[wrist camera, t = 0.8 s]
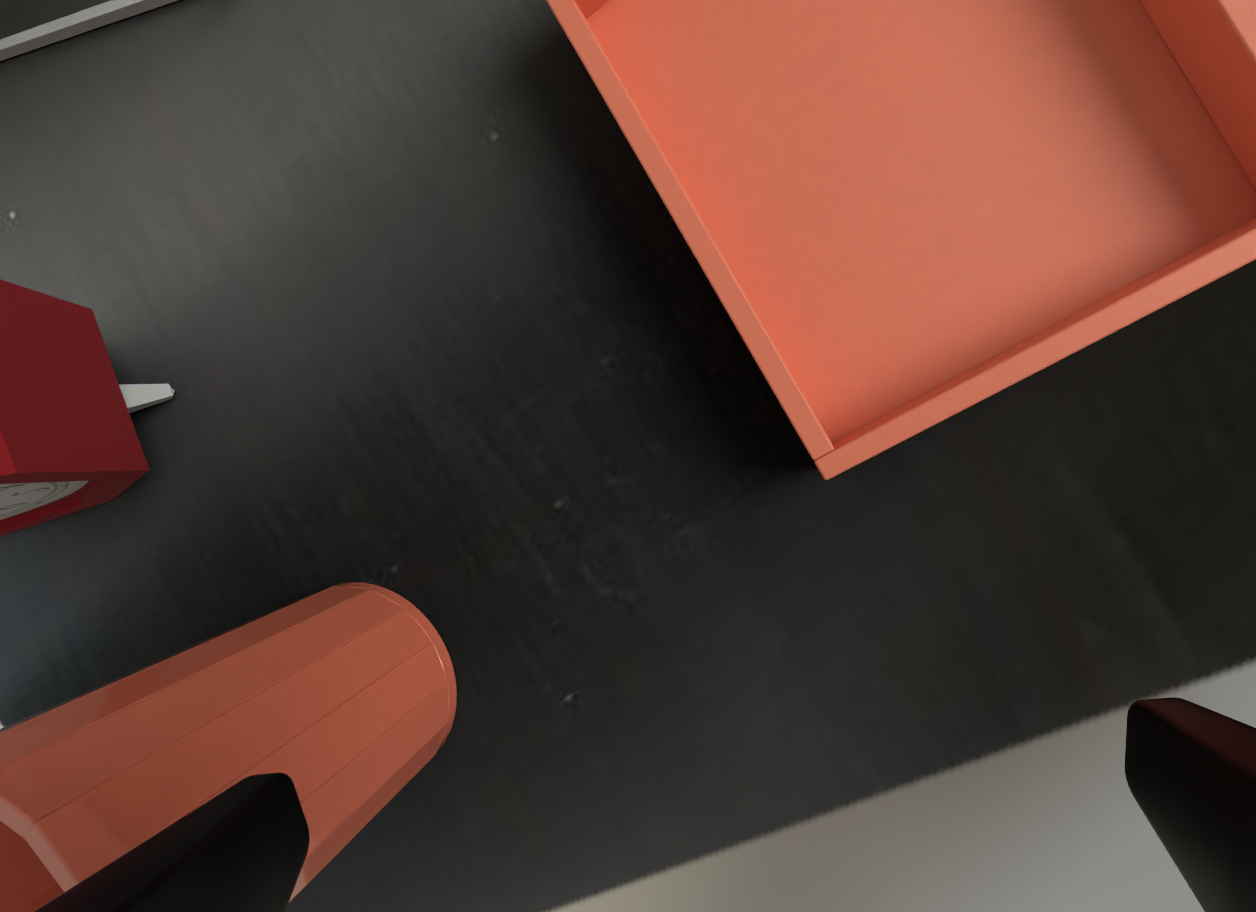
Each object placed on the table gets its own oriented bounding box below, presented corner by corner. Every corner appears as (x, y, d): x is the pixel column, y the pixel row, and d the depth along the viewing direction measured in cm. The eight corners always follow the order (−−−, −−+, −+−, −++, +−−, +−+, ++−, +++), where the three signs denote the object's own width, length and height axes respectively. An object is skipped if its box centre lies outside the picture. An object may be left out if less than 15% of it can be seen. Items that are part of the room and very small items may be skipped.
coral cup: (485, 642, 23) (155, 913, 11) (419, 809, 24) (70, 1197, 13) (316, 546, 24) (-130, 701, 13) (264, 711, 26) (-174, 979, 14)
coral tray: (1293, 222, 16) (1381, 194, 13) (823, 468, 19) (825, 481, 17) (965, -311, 16) (993, -432, 14) (565, 24, 20) (531, -25, 17)
